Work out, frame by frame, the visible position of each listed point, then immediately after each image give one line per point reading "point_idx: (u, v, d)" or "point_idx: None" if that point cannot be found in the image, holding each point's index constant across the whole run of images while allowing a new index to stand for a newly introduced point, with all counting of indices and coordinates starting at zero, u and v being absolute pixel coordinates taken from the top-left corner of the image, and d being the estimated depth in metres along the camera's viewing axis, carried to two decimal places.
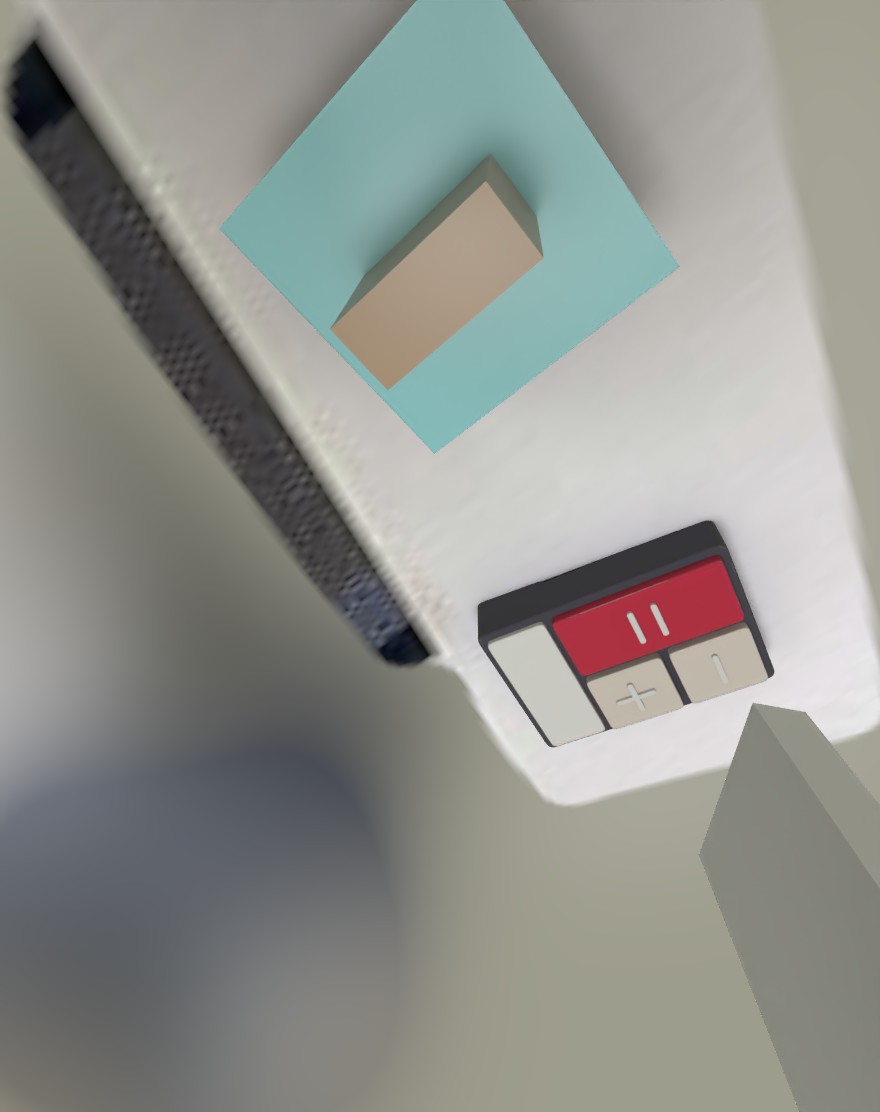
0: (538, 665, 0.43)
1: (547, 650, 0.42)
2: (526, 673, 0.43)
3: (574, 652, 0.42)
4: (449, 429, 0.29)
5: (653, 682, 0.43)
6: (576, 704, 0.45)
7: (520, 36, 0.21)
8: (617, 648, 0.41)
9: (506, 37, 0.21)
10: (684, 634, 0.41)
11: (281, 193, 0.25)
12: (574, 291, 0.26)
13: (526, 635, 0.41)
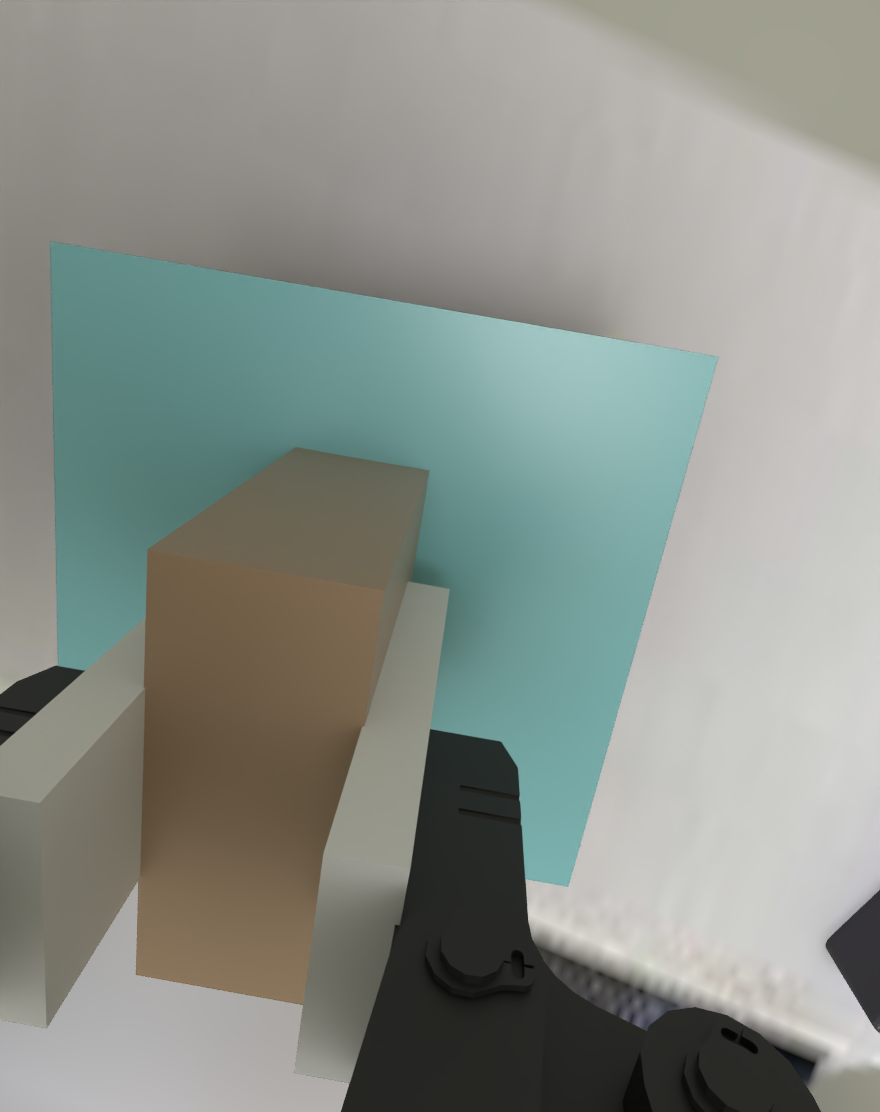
0: None
1: None
2: None
3: None
4: (560, 839, 0.15)
5: None
6: None
7: (206, 278, 0.12)
8: None
9: (190, 296, 0.12)
10: None
11: None
12: (579, 522, 0.13)
13: None
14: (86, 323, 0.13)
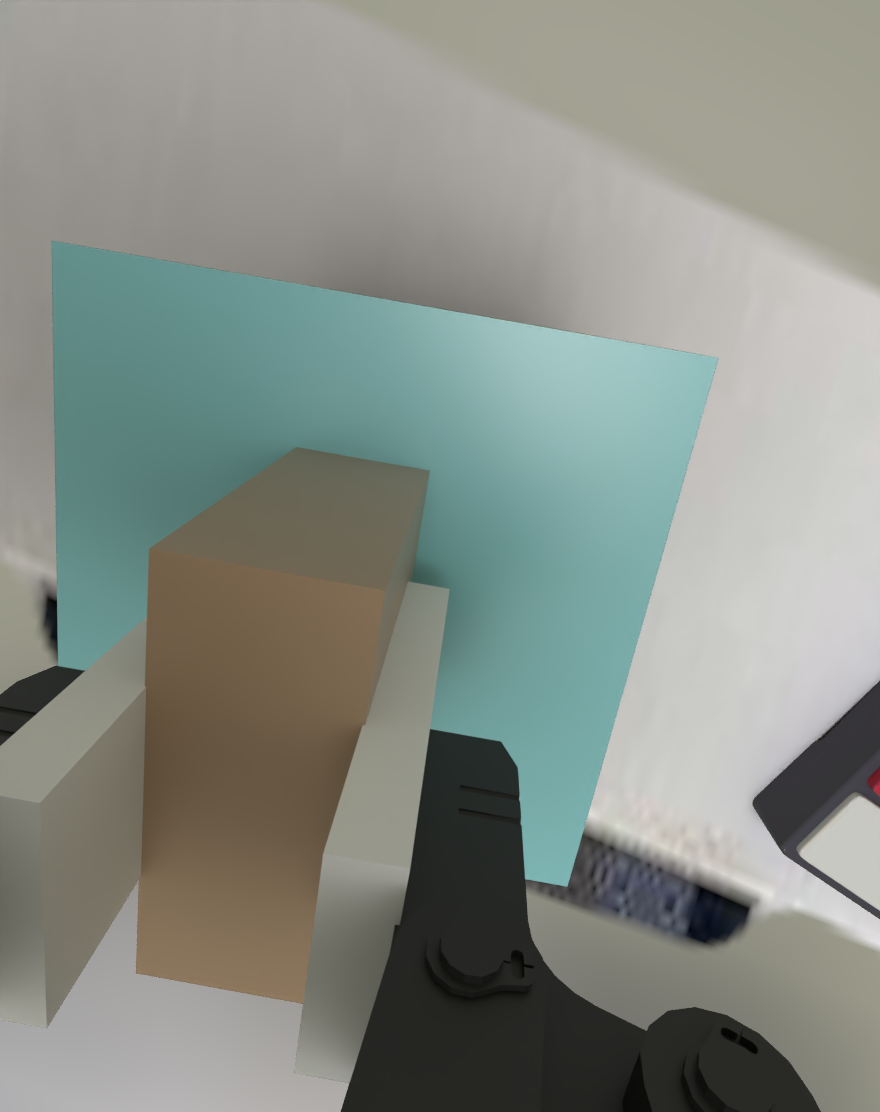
0: None
1: None
2: (871, 873, 0.30)
3: None
4: (560, 839, 0.15)
5: None
6: None
7: (207, 278, 0.12)
8: None
9: (192, 296, 0.12)
10: None
11: None
12: (578, 522, 0.13)
13: (843, 819, 0.29)
14: (87, 322, 0.13)
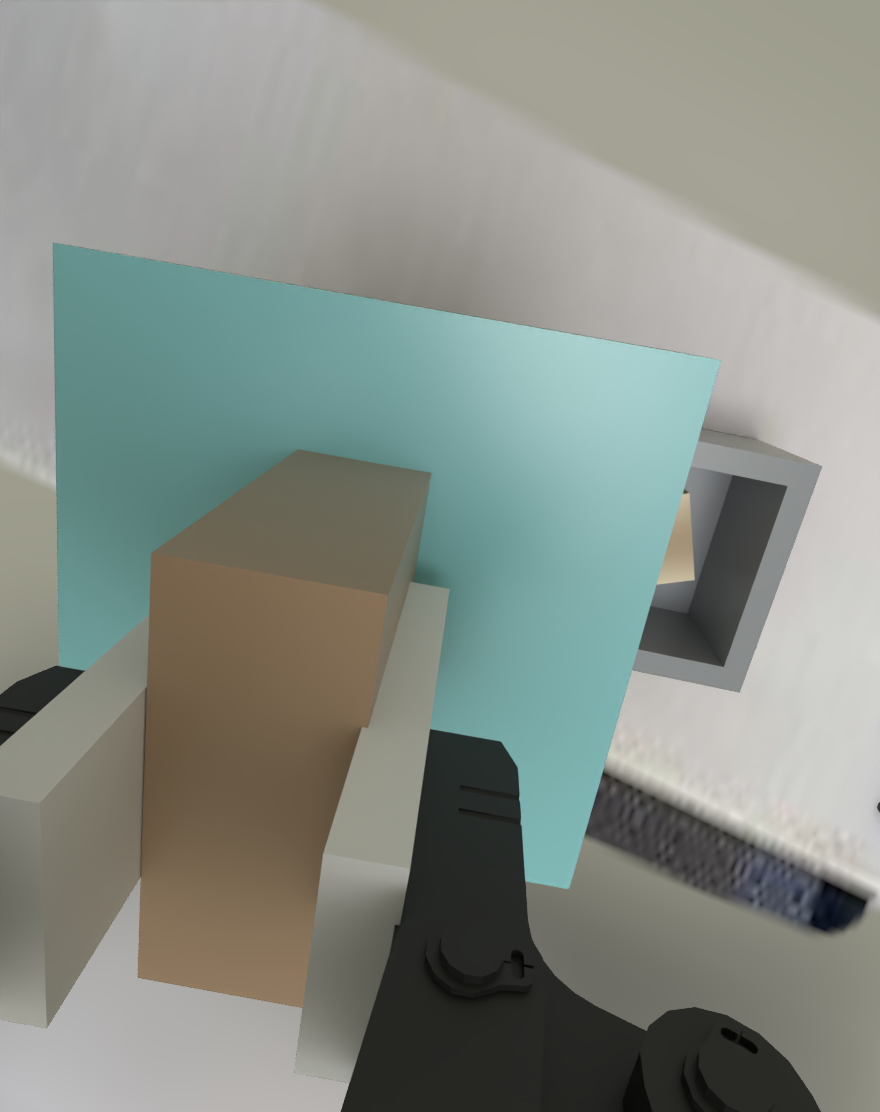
0: None
1: None
2: None
3: None
4: (561, 841, 0.15)
5: None
6: None
7: (208, 280, 0.12)
8: None
9: (193, 298, 0.12)
10: None
11: None
12: (581, 524, 0.13)
13: None
14: (88, 325, 0.13)
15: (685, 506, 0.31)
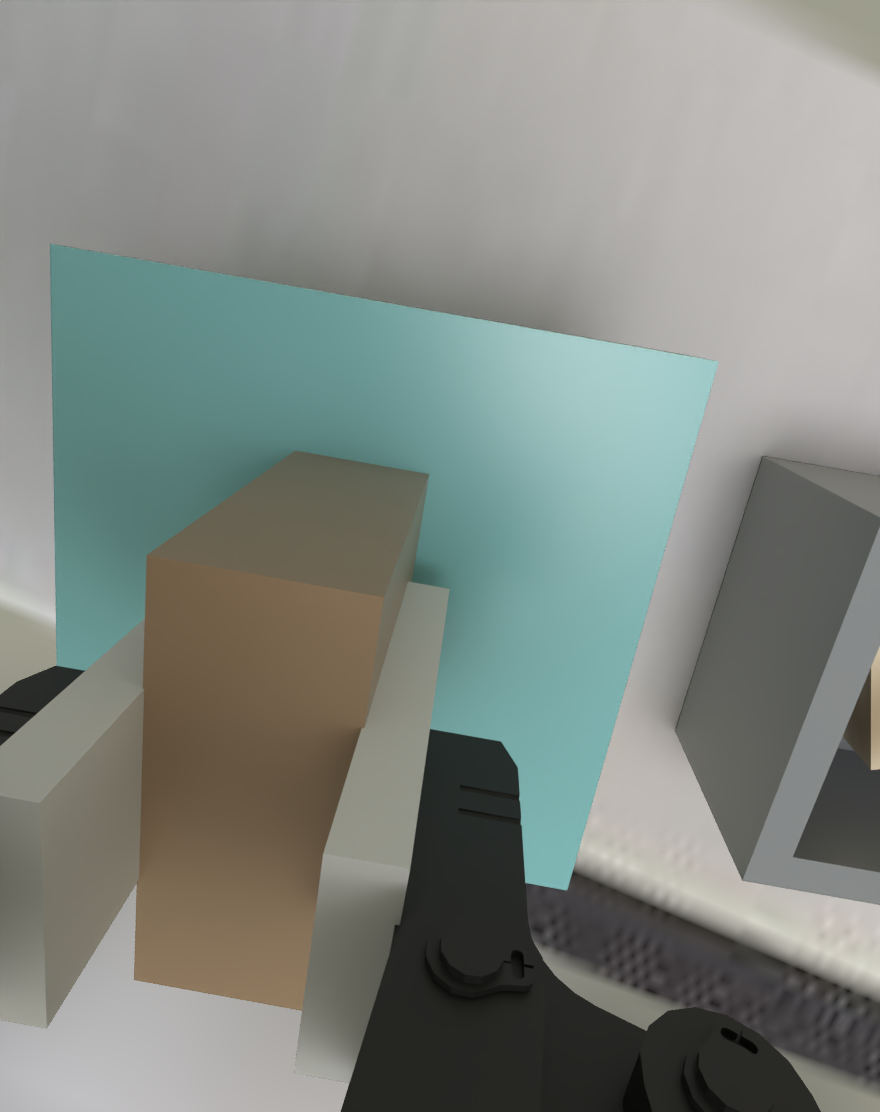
0: None
1: None
2: None
3: None
4: (559, 843, 0.15)
5: None
6: None
7: (205, 281, 0.12)
8: None
9: (190, 299, 0.12)
10: None
11: None
12: (579, 526, 0.13)
13: None
14: (86, 326, 0.13)
15: None
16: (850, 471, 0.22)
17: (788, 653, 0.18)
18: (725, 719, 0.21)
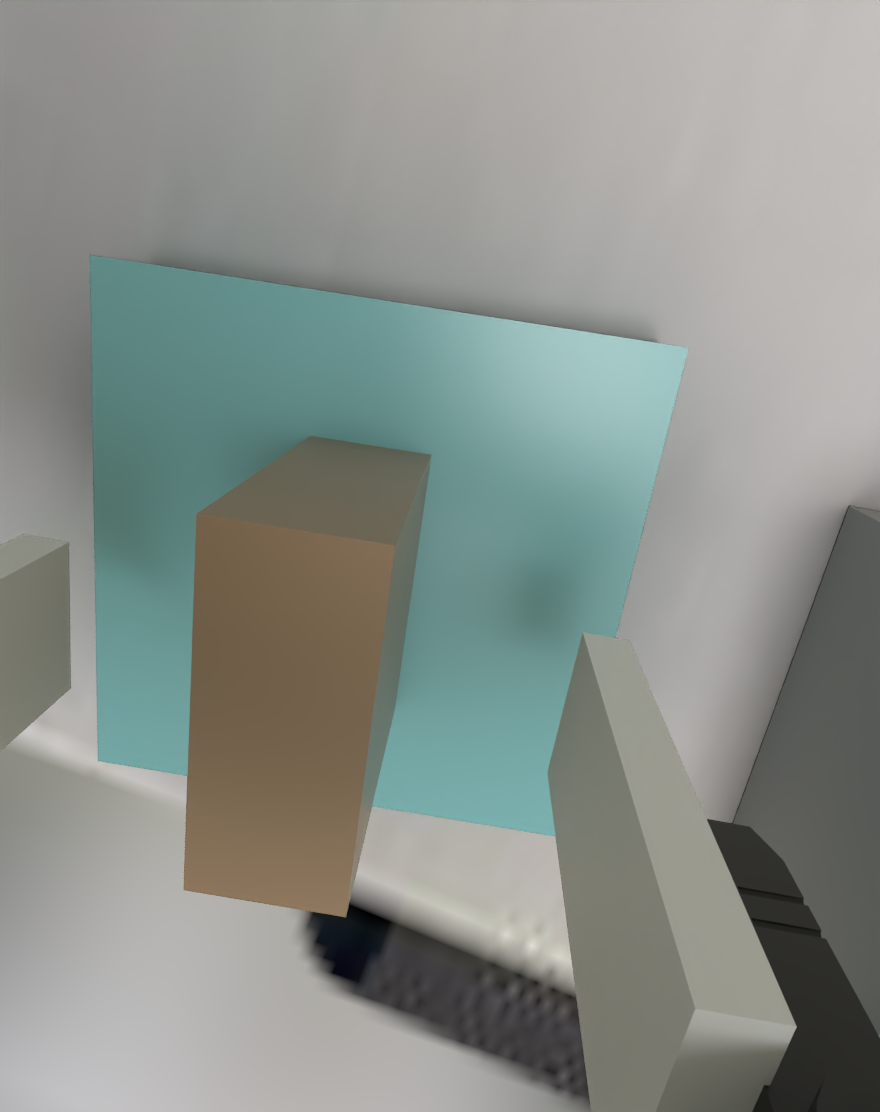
0: None
1: None
2: None
3: None
4: None
5: None
6: None
7: (228, 285, 0.14)
8: None
9: (215, 301, 0.14)
10: None
11: (128, 673, 0.17)
12: (566, 499, 0.15)
13: None
14: (122, 327, 0.14)
15: None
16: None
17: None
18: (802, 854, 0.16)
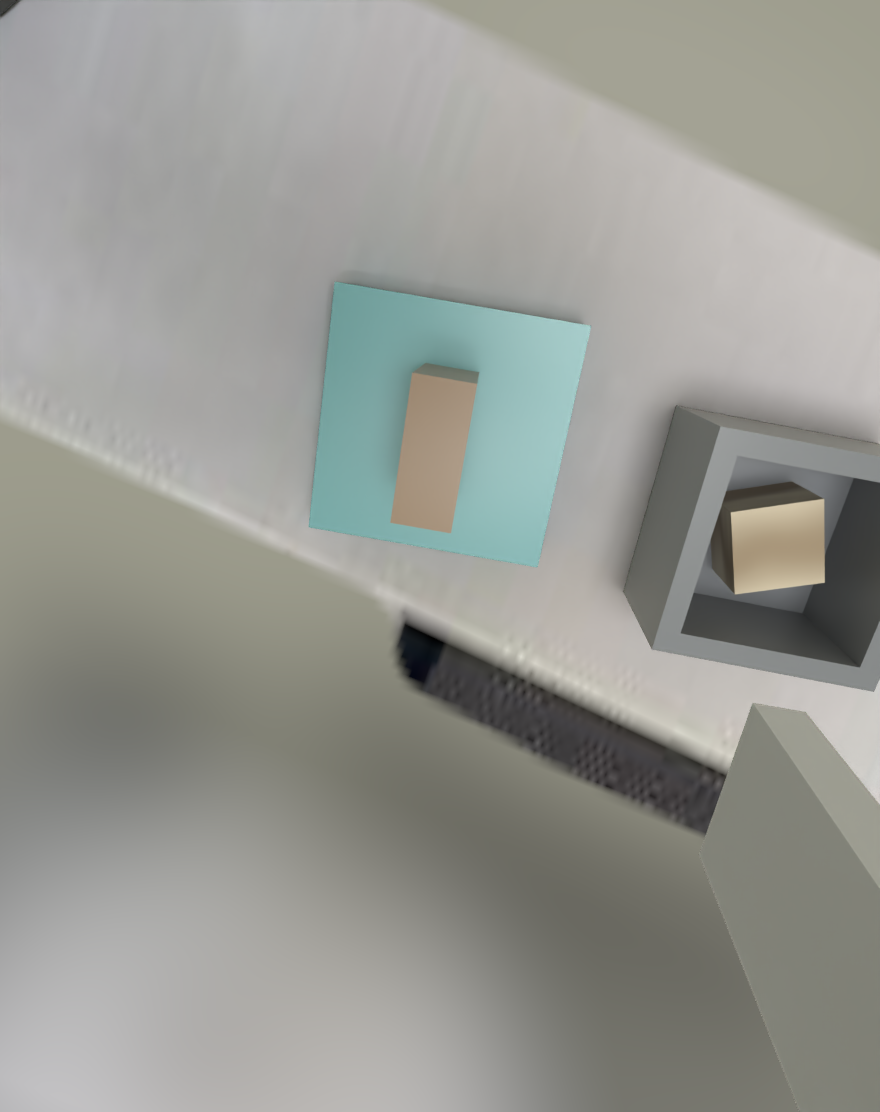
0: None
1: None
2: None
3: None
4: (533, 542, 0.35)
5: None
6: None
7: (394, 295, 0.32)
8: None
9: (387, 302, 0.32)
10: None
11: (329, 479, 0.34)
12: (539, 393, 0.33)
13: None
14: (345, 313, 0.32)
15: (819, 511, 0.31)
16: None
17: (679, 514, 0.31)
18: (649, 568, 0.34)
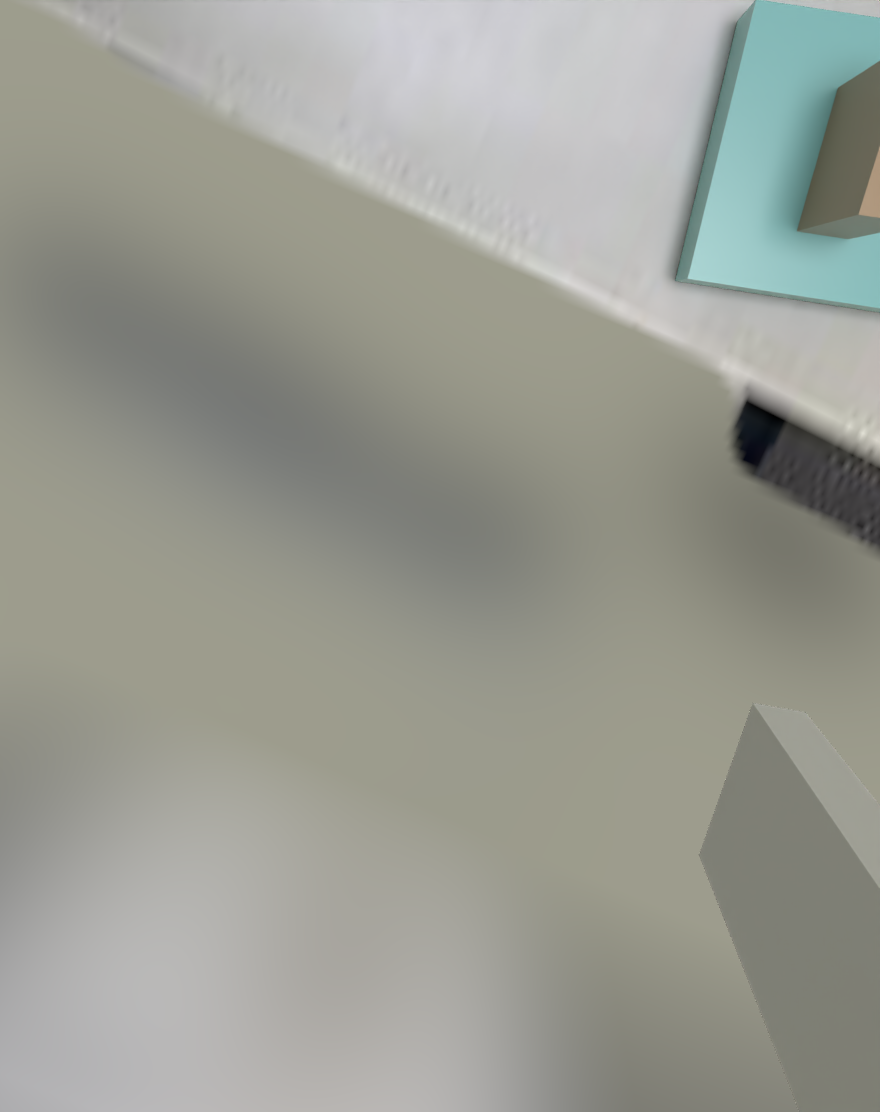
0: None
1: None
2: None
3: None
4: None
5: None
6: None
7: (816, 12, 0.31)
8: None
9: (808, 20, 0.31)
10: None
11: (717, 224, 0.34)
12: None
13: None
14: (762, 34, 0.32)
15: None
16: None
17: None
18: None
